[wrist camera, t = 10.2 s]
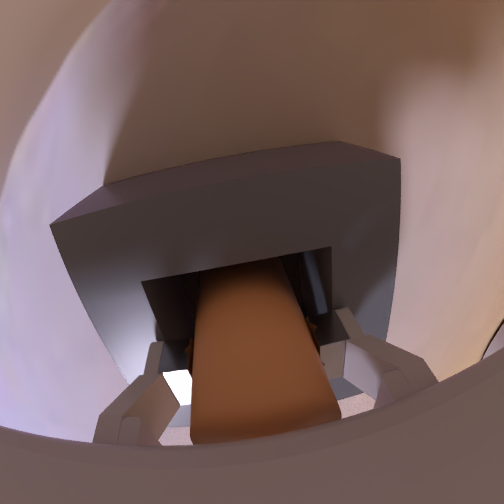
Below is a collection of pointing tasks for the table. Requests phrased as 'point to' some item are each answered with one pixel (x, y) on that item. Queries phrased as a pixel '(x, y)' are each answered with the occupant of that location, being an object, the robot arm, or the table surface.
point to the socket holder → (235, 241)
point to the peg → (254, 358)
